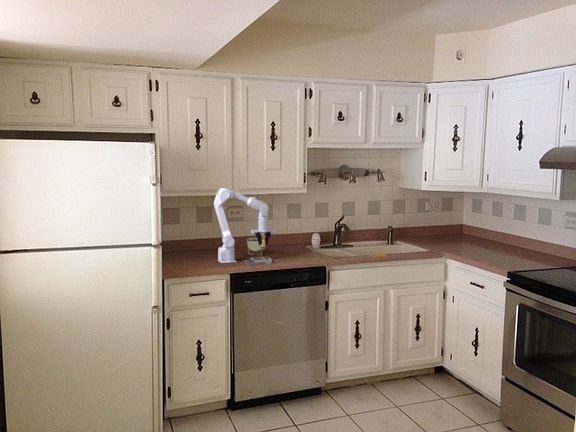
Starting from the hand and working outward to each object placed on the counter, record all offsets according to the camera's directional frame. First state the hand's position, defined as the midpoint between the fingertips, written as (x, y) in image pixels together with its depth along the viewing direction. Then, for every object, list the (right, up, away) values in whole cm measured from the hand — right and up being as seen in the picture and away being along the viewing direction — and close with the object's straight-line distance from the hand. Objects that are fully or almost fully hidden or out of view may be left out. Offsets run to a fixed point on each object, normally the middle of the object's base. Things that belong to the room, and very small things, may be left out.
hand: (263, 244), depth 313 cm
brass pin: (0, -2, 0) cm, 2 cm away
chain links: (-3, -10, -8) cm, 13 cm away
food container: (-5, -7, +20) cm, 21 cm away
